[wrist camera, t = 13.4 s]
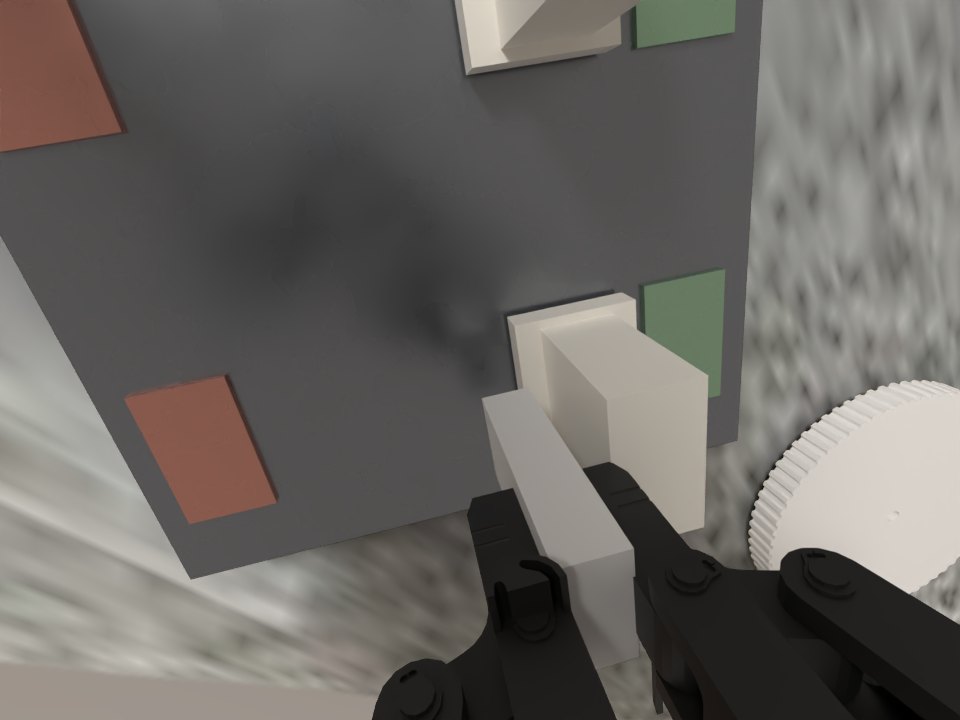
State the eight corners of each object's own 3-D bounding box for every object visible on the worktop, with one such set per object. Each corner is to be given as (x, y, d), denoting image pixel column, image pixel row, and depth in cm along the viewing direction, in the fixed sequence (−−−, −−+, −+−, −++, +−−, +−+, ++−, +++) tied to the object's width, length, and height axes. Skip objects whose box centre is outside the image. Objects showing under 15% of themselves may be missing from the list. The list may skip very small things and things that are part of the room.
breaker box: (217, 524, 20) (188, 583, 17) (-121, -164, 12) (-290, -275, 9) (695, 407, 22) (740, 443, 20) (705, -246, 14) (789, -357, 11)
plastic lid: (706, 460, 24) (739, 491, 22) (953, 322, 24) (1013, 339, 21) (767, 616, 30) (799, 654, 28) (967, 508, 29) (1017, 536, 27)
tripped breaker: (526, 443, 18) (587, 567, 12) (507, 317, 16) (570, 396, 10) (627, 419, 18) (732, 528, 13) (621, 292, 16) (741, 355, 11)
